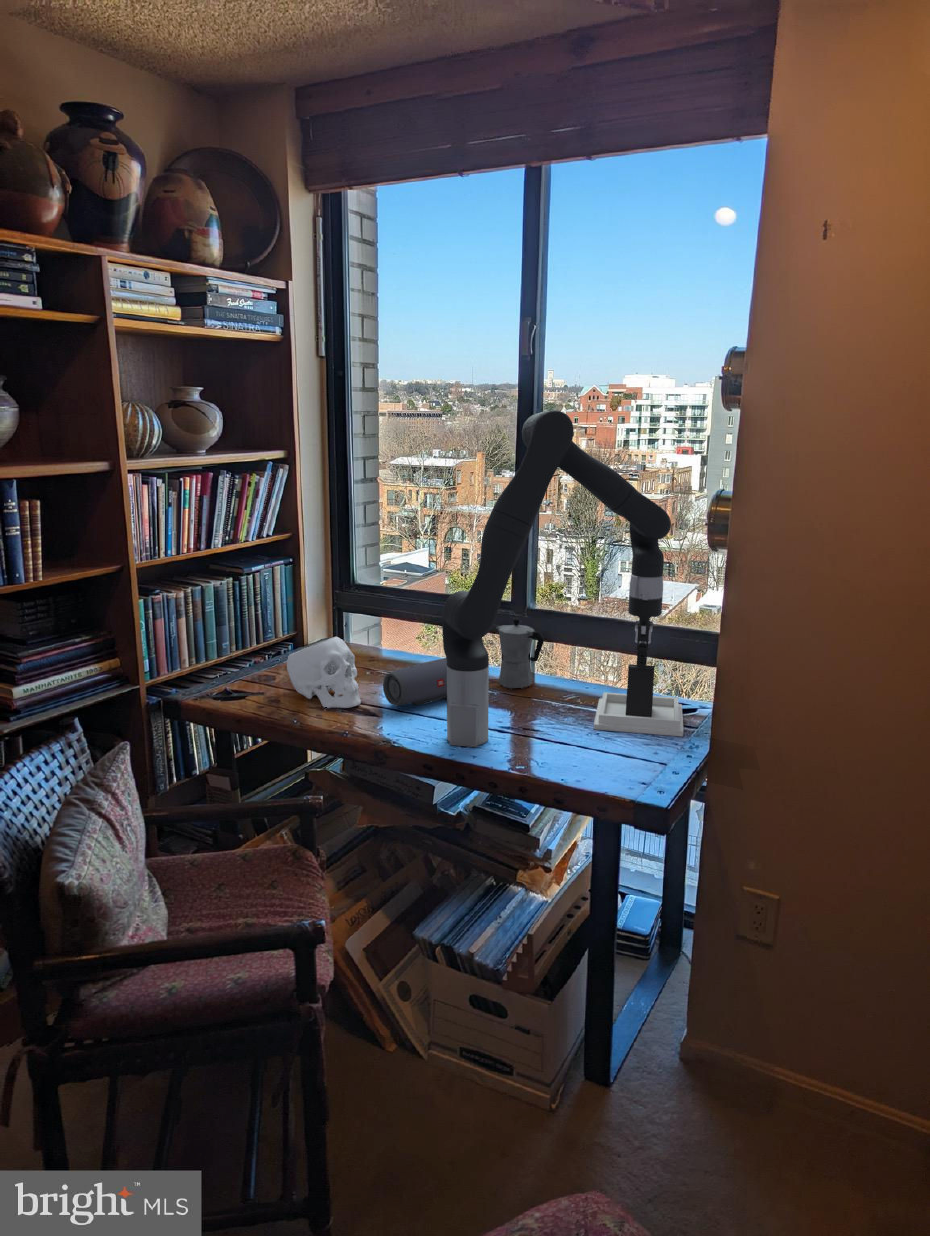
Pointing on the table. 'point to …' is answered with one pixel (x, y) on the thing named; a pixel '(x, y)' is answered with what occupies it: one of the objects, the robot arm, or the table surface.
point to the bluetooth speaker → (417, 683)
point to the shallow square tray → (662, 721)
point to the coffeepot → (517, 654)
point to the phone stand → (640, 691)
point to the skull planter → (325, 673)
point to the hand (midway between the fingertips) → (641, 662)
